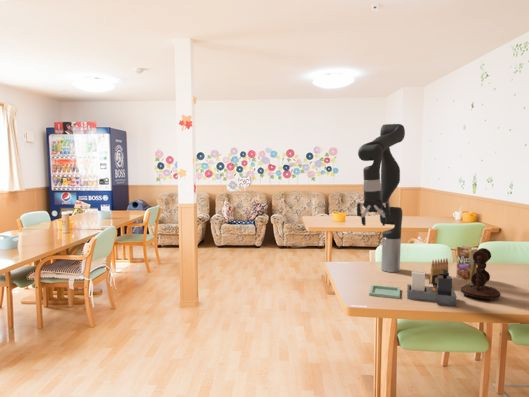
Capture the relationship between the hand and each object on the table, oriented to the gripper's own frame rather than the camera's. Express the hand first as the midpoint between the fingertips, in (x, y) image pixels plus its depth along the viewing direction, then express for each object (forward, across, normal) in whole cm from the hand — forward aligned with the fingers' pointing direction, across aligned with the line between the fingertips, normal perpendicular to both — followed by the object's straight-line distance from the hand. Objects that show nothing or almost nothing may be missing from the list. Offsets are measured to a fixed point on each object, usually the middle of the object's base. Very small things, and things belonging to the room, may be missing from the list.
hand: (373, 225), depth 180 cm
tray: (+28, -5, +13) cm, 31 cm away
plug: (+27, -18, +11) cm, 35 cm away
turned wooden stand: (+31, -42, -3) cm, 52 cm away
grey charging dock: (+29, -23, +11) cm, 38 cm away
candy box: (+32, -37, -29) cm, 57 cm away
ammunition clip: (+31, -26, -14) cm, 42 cm away
